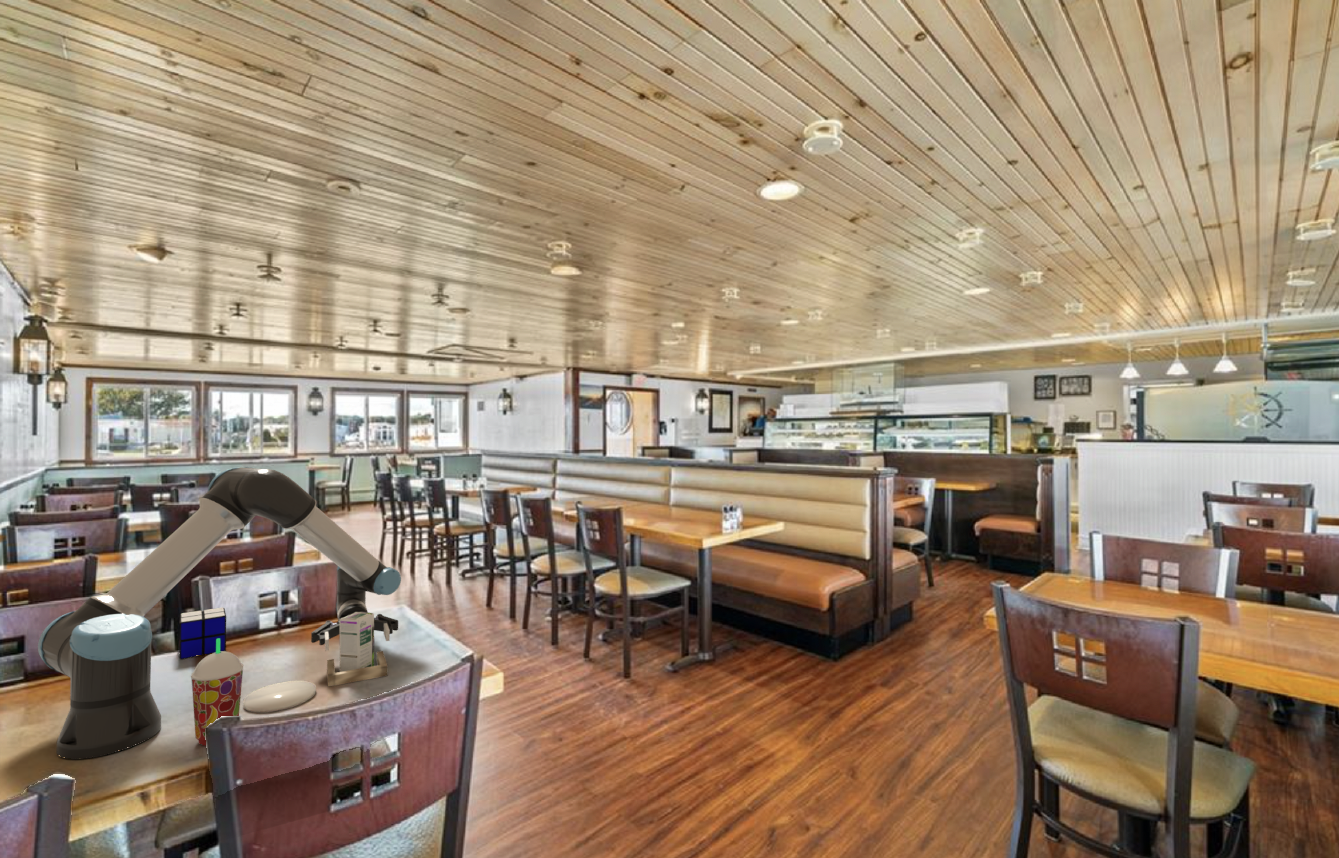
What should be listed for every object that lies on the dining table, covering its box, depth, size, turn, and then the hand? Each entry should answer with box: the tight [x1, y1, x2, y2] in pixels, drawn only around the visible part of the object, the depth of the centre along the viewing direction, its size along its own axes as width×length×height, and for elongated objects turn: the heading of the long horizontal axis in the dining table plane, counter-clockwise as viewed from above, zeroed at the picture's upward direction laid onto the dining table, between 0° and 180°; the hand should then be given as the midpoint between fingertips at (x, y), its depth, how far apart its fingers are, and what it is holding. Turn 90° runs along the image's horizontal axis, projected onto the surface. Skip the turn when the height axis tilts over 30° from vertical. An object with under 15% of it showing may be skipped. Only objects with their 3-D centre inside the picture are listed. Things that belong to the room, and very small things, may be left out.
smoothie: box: [190, 638, 244, 747], centre depth 119 cm, size 8×8×20 cm
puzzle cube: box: [178, 606, 227, 660], centre depth 165 cm, size 10×10×10 cm
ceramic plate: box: [242, 680, 317, 713], centre depth 137 cm, size 14×14×1 cm
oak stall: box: [326, 650, 389, 688], centre depth 151 cm, size 13×12×2 cm
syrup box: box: [339, 611, 375, 672], centre depth 152 cm, size 6×6×14 cm
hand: (358, 640), depth 149 cm, fingers open, 13 cm apart
